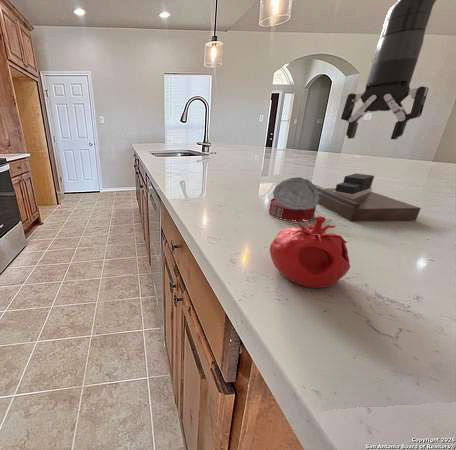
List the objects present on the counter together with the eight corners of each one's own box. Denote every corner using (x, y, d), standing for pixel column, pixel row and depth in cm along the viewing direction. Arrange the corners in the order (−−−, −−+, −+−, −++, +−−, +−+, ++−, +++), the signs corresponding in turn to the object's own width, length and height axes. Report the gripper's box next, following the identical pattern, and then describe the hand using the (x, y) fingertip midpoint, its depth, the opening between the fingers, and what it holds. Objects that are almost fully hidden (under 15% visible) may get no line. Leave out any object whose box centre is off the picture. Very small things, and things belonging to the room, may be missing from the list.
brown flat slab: (357, 197, 71) (361, 183, 69) (415, 220, 54) (423, 202, 53) (308, 198, 72) (311, 184, 70) (350, 221, 55) (356, 203, 53)
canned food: (307, 230, 62) (338, 201, 55) (284, 236, 57) (316, 204, 50) (276, 201, 68) (301, 171, 61) (253, 204, 63) (277, 172, 56)
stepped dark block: (350, 188, 69) (355, 173, 67) (370, 192, 65) (376, 175, 64) (332, 195, 64) (336, 178, 62) (352, 199, 60) (357, 181, 58)
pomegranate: (254, 262, 40) (262, 209, 37) (305, 254, 42) (318, 203, 39) (299, 301, 31) (316, 236, 28) (362, 289, 33) (385, 226, 30)
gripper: (446, 54, 49) (416, 138, 56) (362, 68, 61) (344, 137, 67) (436, 50, 46) (405, 140, 52) (348, 65, 57) (331, 138, 63)
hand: (371, 138), depth 59 cm, fingers open, 8 cm apart
